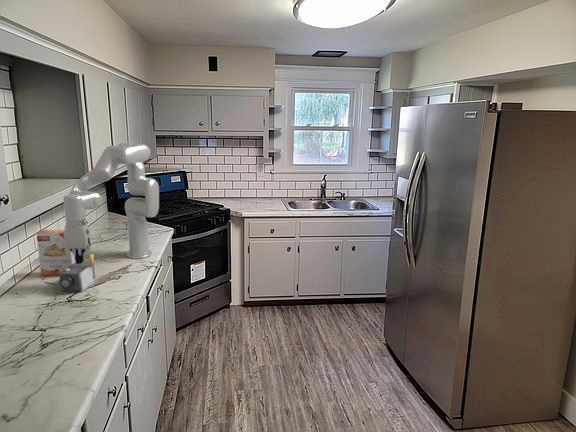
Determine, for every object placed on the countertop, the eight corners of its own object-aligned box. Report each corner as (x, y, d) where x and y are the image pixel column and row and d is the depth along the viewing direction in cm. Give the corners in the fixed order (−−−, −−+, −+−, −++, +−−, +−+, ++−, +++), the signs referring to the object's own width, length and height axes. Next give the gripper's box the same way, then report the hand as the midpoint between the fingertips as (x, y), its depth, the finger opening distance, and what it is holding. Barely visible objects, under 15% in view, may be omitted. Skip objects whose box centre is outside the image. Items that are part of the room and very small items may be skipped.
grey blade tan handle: (91, 281, 182) (88, 253, 179) (96, 281, 182) (94, 253, 179) (79, 291, 172) (76, 262, 168) (85, 291, 172) (82, 262, 168)
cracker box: (40, 276, 186) (35, 233, 181) (46, 271, 192) (41, 229, 187) (73, 275, 188) (68, 232, 183) (77, 271, 194) (73, 229, 189)
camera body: (77, 278, 186) (75, 260, 184) (94, 278, 186) (93, 260, 184) (57, 293, 170) (55, 273, 168) (76, 293, 170) (74, 274, 168)
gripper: (97, 221, 178) (100, 260, 182) (64, 219, 178) (68, 259, 183) (87, 226, 170) (91, 266, 175) (53, 224, 171) (58, 264, 176)
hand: (79, 262), depth 179 cm, fingers closed
